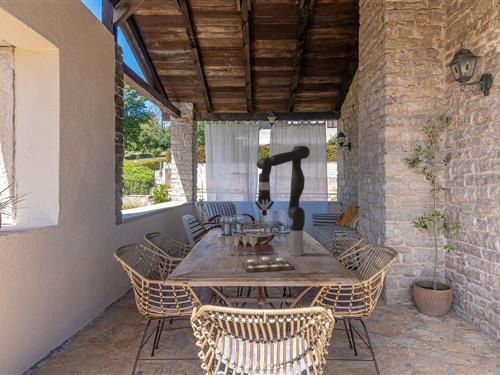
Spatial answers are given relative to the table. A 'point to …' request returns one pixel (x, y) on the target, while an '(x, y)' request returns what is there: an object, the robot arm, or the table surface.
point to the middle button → (265, 258)
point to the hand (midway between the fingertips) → (264, 215)
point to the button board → (266, 265)
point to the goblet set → (236, 239)
